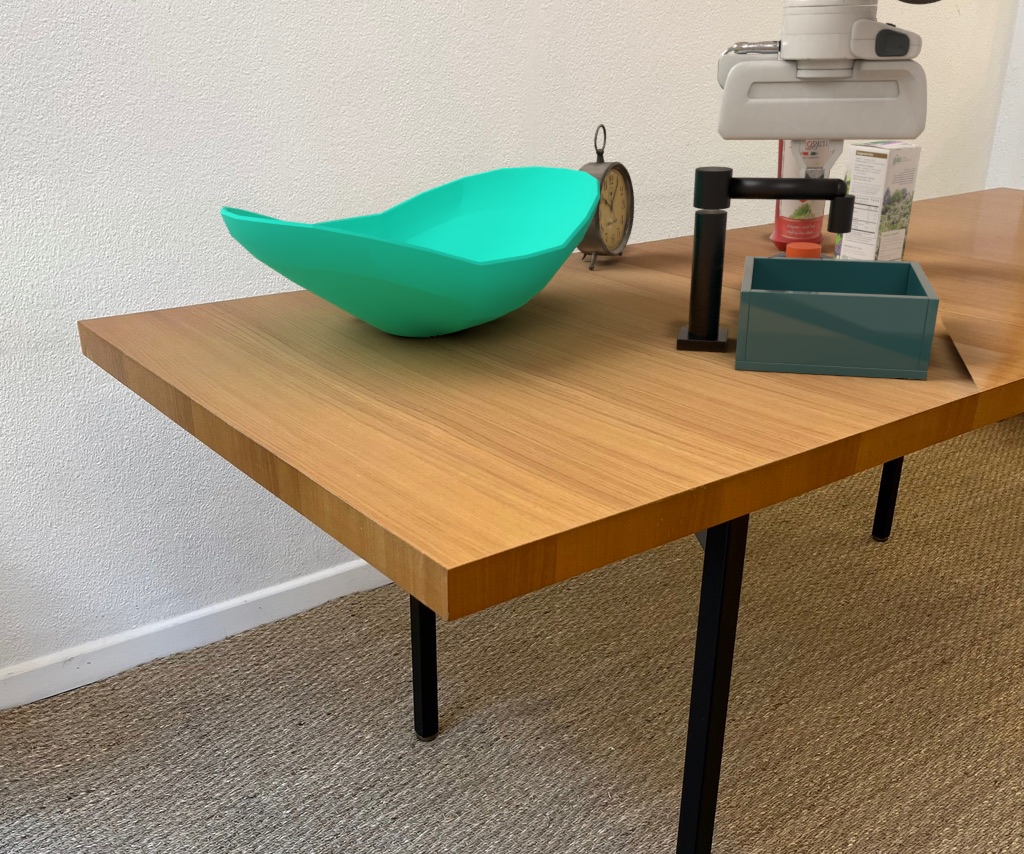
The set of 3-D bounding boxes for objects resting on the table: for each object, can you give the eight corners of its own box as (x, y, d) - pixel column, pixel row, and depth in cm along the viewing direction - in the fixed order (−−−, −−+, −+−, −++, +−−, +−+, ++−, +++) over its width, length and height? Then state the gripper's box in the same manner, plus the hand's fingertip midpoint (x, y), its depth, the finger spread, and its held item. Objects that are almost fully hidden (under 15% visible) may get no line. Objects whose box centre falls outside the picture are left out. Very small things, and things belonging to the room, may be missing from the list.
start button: (819, 259, 113) (821, 242, 113) (820, 266, 110) (822, 249, 110) (785, 258, 114) (786, 241, 113) (785, 264, 111) (786, 248, 110)
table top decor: (350, 409, 82) (336, 236, 76) (175, 342, 100) (153, 198, 94) (664, 314, 107) (671, 179, 101) (479, 274, 125) (476, 158, 119)
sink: (907, 333, 100) (918, 261, 97) (926, 380, 87) (939, 299, 84) (740, 325, 103) (745, 255, 100) (734, 369, 90) (740, 291, 87)
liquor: (821, 243, 139) (847, 10, 128) (828, 254, 133) (856, 10, 121) (764, 242, 140) (785, 11, 129) (769, 253, 134) (791, 10, 122)
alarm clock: (599, 273, 125) (602, 128, 118) (558, 269, 127) (559, 127, 120) (635, 256, 133) (640, 120, 126) (596, 252, 136) (599, 119, 129)
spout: (691, 231, 92) (694, 170, 89) (692, 225, 94) (695, 166, 92) (852, 235, 89) (860, 172, 87) (848, 228, 92) (856, 167, 90)
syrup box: (861, 265, 127) (877, 138, 121) (903, 273, 123) (922, 142, 117) (831, 271, 124) (846, 142, 118) (873, 280, 120) (891, 146, 114)
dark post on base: (727, 339, 99) (737, 208, 94) (725, 352, 95) (735, 216, 90) (680, 336, 100) (687, 206, 94) (676, 349, 96) (683, 215, 91)
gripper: (717, 42, 102) (709, 189, 108) (939, 37, 98) (919, 191, 104) (720, 41, 108) (713, 181, 114) (931, 36, 104) (912, 182, 109)
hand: (813, 185), depth 109 cm, fingers closed
